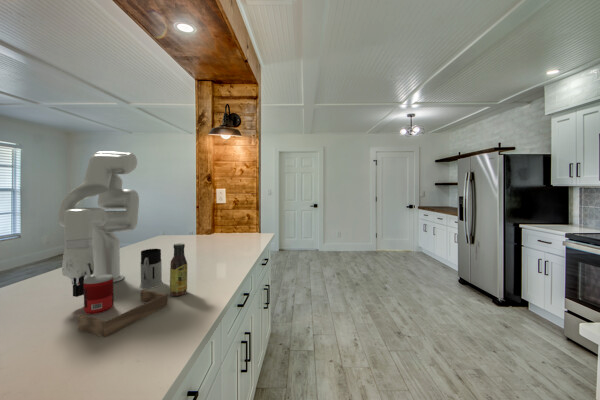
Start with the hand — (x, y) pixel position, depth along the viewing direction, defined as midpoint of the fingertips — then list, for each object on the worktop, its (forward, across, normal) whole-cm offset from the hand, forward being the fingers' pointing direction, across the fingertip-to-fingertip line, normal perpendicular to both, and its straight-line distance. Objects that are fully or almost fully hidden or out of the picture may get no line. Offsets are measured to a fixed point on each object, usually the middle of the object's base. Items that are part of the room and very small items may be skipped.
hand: (79, 295), depth 89 cm
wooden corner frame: (+4, +22, +1) cm, 23 cm away
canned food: (+4, +10, +1) cm, 10 cm away
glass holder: (+4, +8, +22) cm, 23 cm away
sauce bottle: (+4, +24, +21) cm, 32 cm away
